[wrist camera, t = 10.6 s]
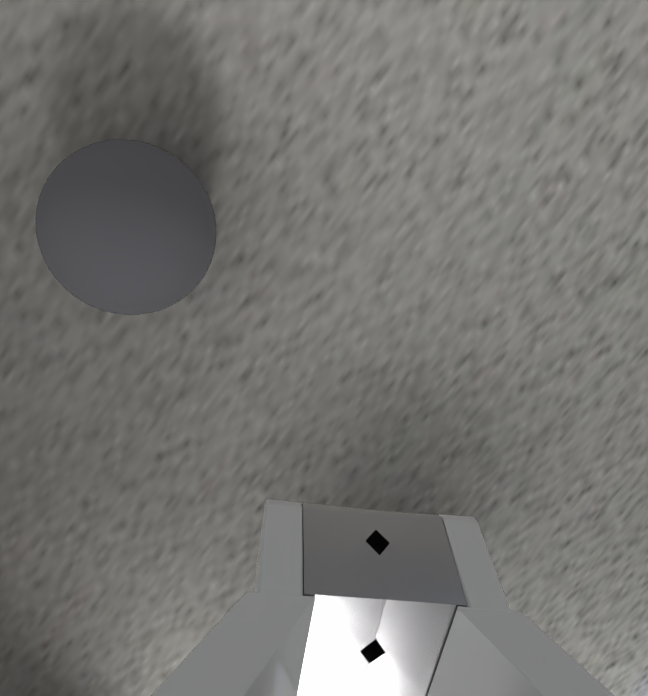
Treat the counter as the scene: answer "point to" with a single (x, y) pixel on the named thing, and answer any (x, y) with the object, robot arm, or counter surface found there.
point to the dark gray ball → (125, 227)
